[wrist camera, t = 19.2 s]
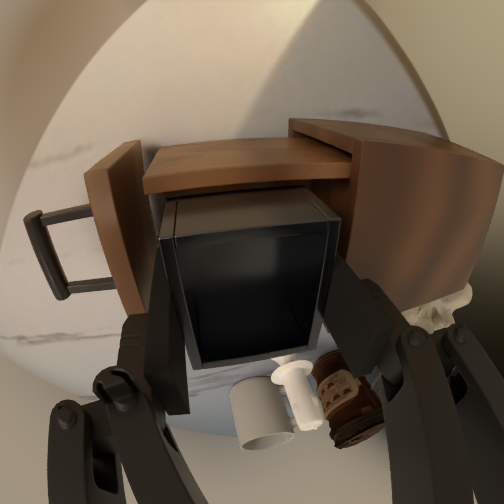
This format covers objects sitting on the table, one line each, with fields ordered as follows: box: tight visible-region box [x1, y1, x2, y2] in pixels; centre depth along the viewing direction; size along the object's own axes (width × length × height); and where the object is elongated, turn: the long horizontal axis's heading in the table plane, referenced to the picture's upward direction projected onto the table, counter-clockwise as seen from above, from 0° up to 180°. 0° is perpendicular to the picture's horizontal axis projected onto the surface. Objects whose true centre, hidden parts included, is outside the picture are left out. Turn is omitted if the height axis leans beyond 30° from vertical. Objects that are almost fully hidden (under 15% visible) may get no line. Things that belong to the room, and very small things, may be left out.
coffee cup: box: [311, 350, 385, 449], centre depth 31 cm, size 9×8×13 cm
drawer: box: [23, 138, 352, 316], centre depth 16 cm, size 20×10×8 cm, turn 91°
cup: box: [229, 377, 298, 451], centre depth 32 cm, size 7×10×9 cm
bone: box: [401, 283, 472, 334], centre depth 29 cm, size 9×14×8 cm, turn 100°
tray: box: [158, 185, 341, 370], centre depth 12 cm, size 6×7×4 cm
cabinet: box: [289, 118, 504, 333], centre depth 18 cm, size 15×12×10 cm
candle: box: [271, 353, 324, 431], centre depth 26 cm, size 5×5×12 cm
